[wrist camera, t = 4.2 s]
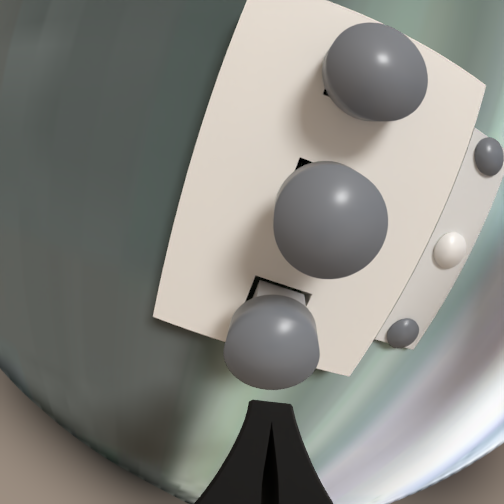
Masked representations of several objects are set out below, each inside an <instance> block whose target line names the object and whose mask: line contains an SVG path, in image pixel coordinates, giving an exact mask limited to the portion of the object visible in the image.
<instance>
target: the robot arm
mask: <svg viewBox="0 0 504 504" xmlns="http://www.w3.org/2000/svg"><path fill="white" fill-rule="evenodd" d="M194 504H333V502H332V501H331V499H330V497H329V496H328V494H327V492H326V491H325V489H324V487H323V485H322V483H321V481H320V479H319V477H318V475H317V473H316V471H315V469H314V467H313V465H312V463H311V460H310V458H309V456H308V453H307V451H306V448H305V446H304V443H303V441H302V438H301V435H300V432H299V429H298V426H297V423H296V419H295V415H294V411H293V406H292V405H291V404H286V403H276V402H267V401H259V400H251V401H249V405H248V410H247V414H246V417H245V420H244V423H243V425H242V428H241V430H240V433H239V435H238V437H237V439H236V441H235V443H234V445H233V447H232V449H231V451H230V453H229V454H228V456H227V458H226V459H225V461H224V463H223V464H222V466H221V468H220V469H219V471H218V473H217V474H216V476H215V477H214V478H213V480H212V481H211V483H210V484H209V486H208V487H207V488H206V490H205V491H204V492H203V493H202V495H201V496H200V497H199V498H198V500H197V501H196V502H195V503H194Z"/></svg>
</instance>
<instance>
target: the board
mask: <svg viewBox="0 0 504 504" xmlns="http://www.w3.org/2000/svg"><path fill="white" fill-rule="evenodd" d="M368 22H371V23H380V22H378V21H376V20H374V19H371V18H369V17H367V16H365V15H362V14H360V13H357V12H355V11H353V10H350V9H348V8H345V7H343V6H340V5H337V4H335V3H332V2H329V1H326V0H247V2H246V4H245V7H244V9H243V12H242V14H241V16H240V19H239V21H238V24H237V27H236V29H235V32H234V34H233V37H232V39H231V42H230V45H229V47H228V50H227V53H226V55H225V58H224V61H223V64H222V66H221V69H220V72H219V75H218V78H217V80H216V83H215V86H214V89H213V92H212V95H211V98H210V101H209V104H208V107H207V110H206V113H205V116H204V119H203V122H202V126H201V129H200V132H199V135H198V138H197V142H196V145H195V148H194V152H193V155H192V158H191V162H190V165H189V169H188V172H187V176H186V179H185V183H184V186H183V190H182V194H181V197H180V201H179V205H178V209H177V213H176V217H175V220H174V224H173V228H172V232H171V237H170V241H169V245H168V249H167V253H166V258H165V262H164V266H163V271H162V275H161V280H160V285H159V289H158V294H157V299H156V304H155V309H154V314H153V317H155V318H158V319H160V320H163V321H166V322H169V323H171V324H174V325H177V326H180V327H182V328H185V329H188V330H191V331H194V332H197V333H200V334H203V335H206V336H208V337H211V338H215V339H218V340H221V341H224V342H226V338H227V333H228V329H229V325H230V321H231V318H232V316H233V314H234V313H235V311H236V310H237V309H238V308H239V307H240V306H241V305H242V304H243V303H245V301H246V299H247V296H248V294H249V291H250V288H251V286H252V283H253V280H254V278H255V275H256V276H259V277H262V278H265V279H268V280H271V281H274V282H277V283H280V284H283V285H286V286H289V287H292V288H295V289H298V290H301V291H302V294H304V297H305V305H306V307H307V308H308V310H309V311H310V312H311V314H312V315H313V317H314V320H315V323H316V329H317V335H318V342H319V349H320V358H319V362H318V365H317V367H316V368H317V369H321V370H325V371H329V372H333V373H337V374H341V375H346V376H350V375H351V373H352V372H353V370H354V369H355V367H356V366H357V365H358V363H359V362H360V360H361V359H362V357H363V356H364V354H365V352H366V351H367V349H368V348H369V346H370V345H371V343H372V342H373V340H374V338H375V337H376V335H377V334H378V332H379V330H380V329H381V327H382V325H383V324H384V322H385V321H386V319H387V317H388V316H389V314H390V312H391V310H392V309H393V307H394V305H395V303H396V302H397V300H398V298H399V296H400V295H401V293H402V291H403V289H404V287H405V286H406V284H407V282H408V280H409V278H410V276H411V274H412V273H413V271H414V269H415V267H416V265H417V263H418V261H419V259H420V257H421V255H422V253H423V251H424V249H425V247H426V245H427V243H428V241H429V239H430V237H431V235H432V232H433V230H434V228H435V226H436V224H437V222H438V219H439V217H440V215H441V213H442V210H443V208H444V206H445V203H446V201H447V199H448V196H449V194H450V192H451V189H452V187H453V184H454V182H455V179H456V177H457V174H458V171H459V169H460V166H461V163H462V161H463V158H464V155H465V152H466V150H467V147H468V144H469V141H470V138H471V135H472V132H473V129H474V126H475V123H476V119H477V116H478V113H479V109H480V106H481V102H482V99H483V95H484V91H485V88H486V85H485V84H483V83H482V82H481V81H479V80H478V79H476V78H475V77H474V76H472V75H471V74H469V73H468V72H466V71H465V70H464V69H462V68H461V67H459V66H458V65H456V64H454V63H453V62H451V61H450V60H448V59H447V58H445V57H443V56H442V55H440V54H438V53H437V52H435V51H433V50H432V49H430V48H428V47H427V46H425V45H423V44H421V43H419V42H418V41H416V40H414V39H412V38H410V37H408V36H407V35H406V36H407V37H408V38H409V39H410V40H411V41H412V42H413V43H414V44H415V46H416V47H417V48H418V50H419V51H420V53H421V55H422V57H423V59H424V62H425V65H426V68H427V74H428V85H427V91H426V94H425V97H424V99H423V101H422V103H421V104H420V106H419V107H418V108H417V109H416V110H415V111H414V112H413V113H412V114H410V115H409V116H407V117H405V118H403V119H399V120H396V121H363V120H359V119H356V118H354V117H352V116H350V115H348V114H346V113H345V112H343V111H342V110H341V109H340V108H338V107H337V106H336V105H335V103H334V102H333V101H332V100H331V98H330V97H328V96H326V95H323V92H324V90H325V87H324V83H323V79H322V64H323V60H324V57H325V55H326V53H327V51H328V50H329V48H330V47H331V45H332V44H333V42H334V41H335V39H336V38H337V37H338V36H339V35H340V34H341V33H342V32H343V31H344V30H346V29H347V28H349V27H351V26H354V25H356V24H360V23H368ZM380 24H382V23H380ZM404 35H405V34H404ZM299 158H303V159H306V160H309V161H311V162H317V161H333V162H338V163H341V164H344V165H346V166H348V167H350V168H352V169H354V170H355V171H357V172H358V173H360V174H362V175H363V176H364V177H366V178H367V179H369V180H370V181H371V182H372V183H373V184H374V185H375V186H376V188H377V189H378V190H379V192H380V193H381V195H382V197H383V199H384V201H385V204H386V208H387V213H388V230H387V235H386V239H385V241H384V244H383V246H382V248H381V250H380V251H379V253H378V254H377V256H376V257H375V258H374V259H373V260H372V261H371V262H370V263H369V264H368V265H367V266H366V267H365V268H363V269H361V270H360V271H358V272H356V273H354V274H352V275H350V276H347V277H343V278H339V279H319V278H315V277H311V276H308V275H306V274H303V273H302V272H300V271H298V270H297V269H295V268H294V267H293V266H291V265H290V264H289V263H288V262H287V261H286V259H285V258H284V257H283V255H282V254H281V252H280V250H279V248H278V246H277V244H276V240H275V237H274V230H273V219H274V206H275V200H276V196H277V193H278V191H279V189H280V187H281V185H282V184H283V182H284V181H285V180H286V179H287V177H288V176H289V175H290V174H292V173H293V172H294V171H295V169H296V166H297V163H298V161H299Z"/></svg>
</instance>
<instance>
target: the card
mask: <svg viewBox="0 0 504 504" xmlns="http://www.w3.org/2000/svg"><path fill="white" fill-rule="evenodd" d="M503 175H504V148H502V147H501V145H500V143H499V142H498V141H497V140H495V139H494V138H490V137H487V136H486V135H485V134H483V133H482V132H480V131H479V130H477V129H476V128H474V129H473V132H472V135H471V138H470V141H469V144H468V147H467V150H466V152H465V155H464V158H463V161H462V163H461V166H460V169H459V171H458V174H457V177H456V179H455V182H454V184H453V187H452V189H451V192H450V194H449V196H448V199H447V201H446V203H445V206H444V208H443V210H442V213H441V215H440V217H439V219H438V222H437V224H436V226H435V228H434V230H433V232H432V235H431V237H430V239H429V241H428V243H427V245H426V247H425V249H424V251H423V253H422V255H421V257H420V259H419V261H418V263H417V265H416V267H415V269H414V271H413V273H412V274H411V276H410V278H409V280H408V282H407V284H406V286H405V287H404V289H403V291H402V293H401V295H400V296H399V298H398V300H397V302H396V303H395V305H394V307H393V309H392V310H391V312H390V314H389V316H388V317H387V319H386V321H385V322H384V324H383V325H382V327H381V329H380V330H379V332H378V334H377V335H376V337H375V338H374V339H376V340H379V341H383V342H386V343H389V345H390V346H392V347H394V348H404V347H405V348H409V349H414V348H415V346H416V345H417V343H418V342H419V340H420V339H421V337H422V336H423V334H424V333H425V331H426V330H427V328H428V327H429V325H430V324H431V322H432V320H433V319H434V317H435V316H436V314H437V312H438V311H439V309H440V307H441V306H442V304H443V302H444V301H445V299H446V297H447V295H448V294H449V292H450V290H451V288H452V287H453V285H454V283H455V281H456V279H457V278H458V276H459V274H460V272H461V270H462V268H463V266H464V264H465V262H466V260H467V258H468V256H469V255H470V252H471V250H472V248H473V246H474V244H475V242H476V240H477V238H478V236H479V234H480V232H481V229H482V227H483V225H484V223H485V220H486V218H487V216H488V213H489V211H490V209H491V206H492V204H493V201H494V199H495V196H496V194H497V191H498V189H499V186H500V183H501V181H502V178H503Z"/></svg>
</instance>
